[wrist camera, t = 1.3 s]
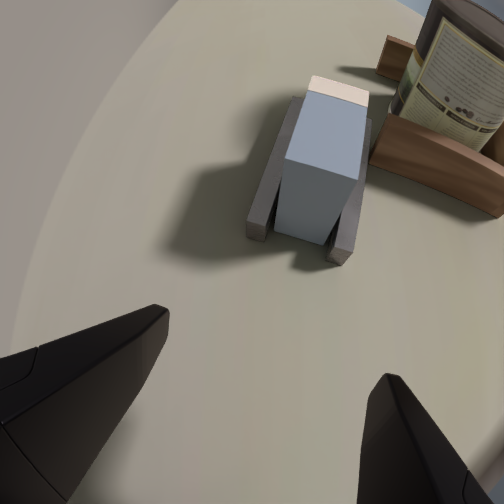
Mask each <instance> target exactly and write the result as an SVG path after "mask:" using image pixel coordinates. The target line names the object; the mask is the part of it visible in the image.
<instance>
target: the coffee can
mask: <svg viewBox="0 0 504 504" xmlns="http://www.w3.org/2000/svg"><path fill="white" fill-rule="evenodd" d="M388 113H391V114H394V115H396V116H399V117H402V118H404V119H407V120H409V121H412V122H414V123H417V124H419V125H421V126H424V127H426V128H428V129H431V130H433V131H435V132H437V133H440V134H442V135H444V136H446V137H448V138H450V139H452V140H454V141H457V142H459V143H461V144H463V145H465V146H467V147H469V148H470V149H472V150H474V151H476V152H479V151H480V150H481V149H482V147H483V146H484V145H485V144H486V143H487V142H488V140H489V139H490V138H491V136H492V135H493V134H494V133H495V132H496V130H497V129H498V128H499V127H500V125H501V124H502V122H503V121H504V21H502V20H501V19H499V18H498V17H497V16H495V15H494V14H493V13H491V12H489V11H488V10H486V9H485V8H483V7H482V6H480V5H478V4H476V3H474V2H472V1H471V0H432V1H431V4H430V7H429V9H428V12H427V15H426V18H425V21H424V23H423V26H422V29H421V31H420V34H419V36H418V39H417V42H416V44H415V47H414V49H413V52H412V54H411V57H410V59H409V62H408V64H407V66H406V69H405V71H404V74H403V76H402V79H401V81H400V83H399V86H398V88H397V90H396V93H395V95H394V97H393V99H392V101H391V102H390V104H389V107H388Z"/></svg>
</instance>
